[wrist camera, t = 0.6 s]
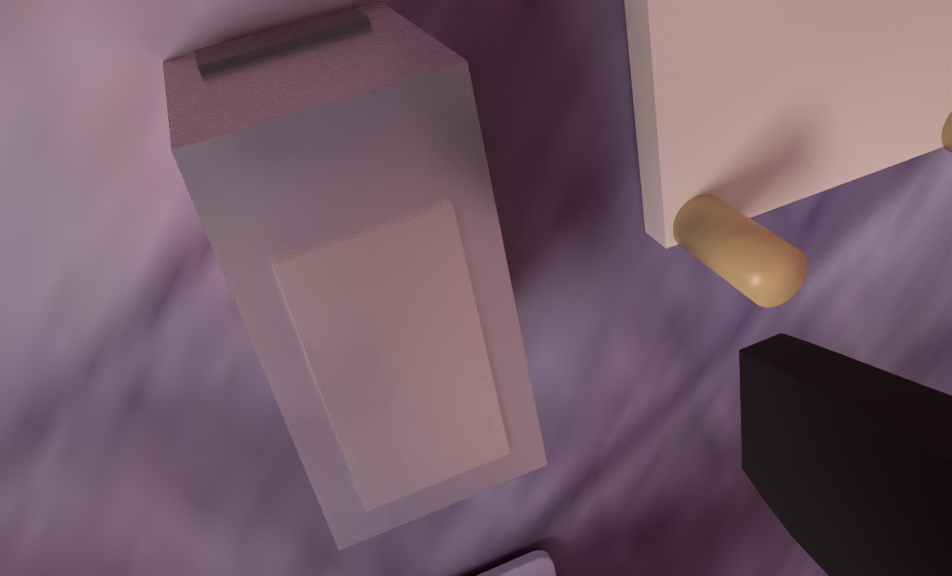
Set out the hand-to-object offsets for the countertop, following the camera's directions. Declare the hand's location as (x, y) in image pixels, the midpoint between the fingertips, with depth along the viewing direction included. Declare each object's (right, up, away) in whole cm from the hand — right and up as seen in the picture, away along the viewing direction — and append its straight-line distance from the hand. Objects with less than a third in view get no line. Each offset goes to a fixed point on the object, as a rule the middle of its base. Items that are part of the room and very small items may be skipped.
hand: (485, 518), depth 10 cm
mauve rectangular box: (-3, +4, +8) cm, 10 cm away
